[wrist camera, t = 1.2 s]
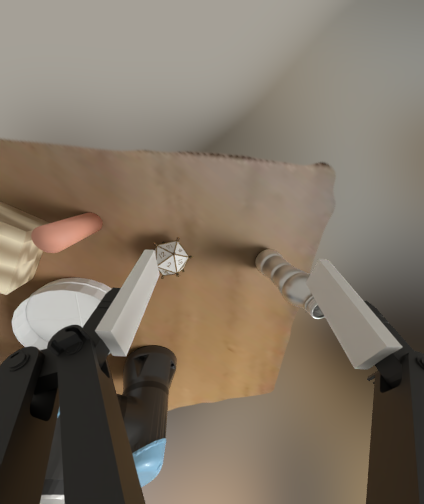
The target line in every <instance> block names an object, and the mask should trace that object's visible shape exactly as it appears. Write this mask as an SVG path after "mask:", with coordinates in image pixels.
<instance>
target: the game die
mask: <svg viewBox="0 0 424 504" xmlns="http://www.w3.org/2000/svg"><path fill="white" fill-rule="evenodd" d="M178 240H179V237H178V238H177V240H176V241H172V242H168V243H165V242H163V243H162V244H159V245H157V244H156V243H154V245H155V246H156V248H155V255H156V260H157V265H158V270H159V271H160V273H161V274H162V275H163V276H162V277H161V278H162V279H163V278H164V276H166V275H173V274H177V276H178V277H179V274H178V273H179V272H180V271H181V270H182V271H183V272H184V269H183V268H184V266H185V264H186V262H187V261H188V259H189V258H193V257H192V256H188V254H187V253H186V252H185V250H184V249H183V247H182V246H181V245H180V243H179V242H178Z"/></svg>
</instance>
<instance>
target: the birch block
mask: <svg viewBox="0 0 424 504" xmlns="http://www.w3.org/2000/svg"><path fill="white" fill-rule="evenodd" d="M46 224H49V222H47V221H44V220H42V219H40V218H37V217H35V216H33V215H31V214H28V213H26V212H24V211H22V210H19V209H17V208H15V207H12V206H10V205H8V204H6V203H3V202H1V201H0V293H2V294H5V295H7V294H9V293H10V292H12V291H14V290H15V289H17V288H19V287H20V286H22V285H23V284H25V283H27V282H28V281H30V280H31V279H33V278H34V275H35V272H36V269H37V266H38V264H39V261H40V258H41V255H42V253H43V251H42V250H41V249H39V248H38V247H37V246H36V245H35V244H34V243H33V241H32V238H31V234H32V231H33V230H34V229H35V228H36V227H39V226H42V225H46Z"/></svg>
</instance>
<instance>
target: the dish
mask: <svg viewBox="0 0 424 504" xmlns="http://www.w3.org/2000/svg"><path fill="white" fill-rule="evenodd" d="M111 289H112V288H110V287H108V286H106V285H105V284H103V283H100V282H97V281H94V280H91V279H84V278H63V279H59V280H56V281H52V282H49V283H48V284H46V285H44V286H43V287H41V288H40V289H38V290H37V291H35V292H34V293H32V294H31V296H30V297H29V298H27V299H26V300H25V301H23V302H22V303H21V304H20V305H19V306H18V308H17V309H16V310H15V311H14V315H13V318H12V328H13V332H14V334H15V336H16V337H17V339H18V341H19V342H20V343H21V344H22V345H23V346H24V347H29V346H33V347H37V348H38V349H39V350H43V349H47V346H48V342H49V341H50V339H51V338H52V336H53V335H54V334H56V333H57V332H58V331H59V330H61V329H63V328H64V327H67V326H70V325H79V326H81V327H82V328H83V326H84V325H85V323H86V322H87V320H88V319H89V317H90V316H91V314H92V313H93V312H94V310H95V309H96V308H97V306H98V304H99V303H100V302H101V300H102V299H103V297H104V296H105V294H106V293H107V292H109V291H110V290H111ZM110 353H111V352H109V354H110ZM109 354H108V355H109Z"/></svg>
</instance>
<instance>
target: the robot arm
mask: <svg viewBox="0 0 424 504" xmlns="http://www.w3.org/2000/svg"><path fill="white" fill-rule="evenodd" d="M158 277H159V270H158V265H157V260H156V255H155V250H144V252H143V253H142V255H141V257H140V258H139V260H138V261H137V263H136V265H135V266H134V268H133V270H132V271H131V273H130V274H129V276H128V278H127V279H126V281H125V283H124V284H123V286H122V287H121V288H112V289H111V290H110V291H109V292H107V293H106V294H105V296H104V297H103V299H102V300H101V302H100V303H99V304H98V306H97V308H96V309H95V310H94V312H93V313H92V314H91V316H90V317H89V319H88V320H87V322H86V323H85V325H84V326H83V328H82V327H81V326H79V325H70V326H67V327H64V328H63V329H61V330H59V331H58V332H57V333H56V334H54V335H53V336H52V338H51V339H50V341H49V342H48V346H47V349H43V350H39V349H38V348H37V347H33V346H29V347H24V348H22V349H20V350H18V351H16V352H14V353H13V354H12V355H10V356H9V357H8V358H7V359H6V360H5V361H4V362H3V363H2V364H1V366H0V504H145V500H144V497H143V493H142V489H141V487H143V486H144V485H146V484H148V483H149V482H150V481H152V480H153V479H154V478H155V477H156V476H157V475H158V473H159V472H160V470H161V467H162V464H163V459H164V451H165V444H166V425H167V424H166V423H167V410H168V394H169V388H170V385H171V383H172V380H173V377H174V374H175V371H176V357H175V355H174V353H173V352H172V351H170V350H169V349H167V348H164V347H161V346H146V347H142V348H139V349H137V350H135V351H134V352H132V353H131V354H130V355H129V356H128V357H127V359H126V362H125V365H124V369H123V394H122V395H120V394H116V391H115V387H114V383H113V379H112V375H111V372H110V368H109V364H108V360H107V359H106V358H107V356H108V354H109V352H111V354H112V355H113V356H127V353H128V351H129V349H130V346H131V344H132V341H133V339H134V336H135V334H136V331H137V329H138V326H139V324H140V321H141V319H142V317H143V314H144V312H145V309H146V307H147V304H148V302H149V299H150V297H151V294H152V292H153V290H154V287H155V285H156V282H157V280H158ZM306 285H307V286H308V288H309V290H310V292H311V293H312V295H313V297H314V299H315V300H316V302H317V304H318V306H319V307H320V309H321V311H322V313H323V314H324V316H325V318H326V320H327V321H328V323H329V325H330V326H331V328H332V330H333V332H334V334H335V335H336V337H337V339H338V341H339V342H340V344H341V346H342V348H343V349H344V351H345V353H346V354H347V356H348V358H349V360H350V361H351V363H352V365H353V366H354V368H355V369H369V368H371V367H372V366H374V365H375V366H376V367H377V369H378V371H377V372H375V373H373V374H372V375H370V376H368V378H367V380H369V381H370V380H372V379H374V378H375V382H373V384H375V385H374V400H373V413H372V427H371V442H370V455H369V471H368V484H367V498H366V504H424V354H422V353H420V352H416V351H414V350H413V349H412V348H411V347H410V346H409V345H408V344H407V343H406V342H405V340H404V339H403V338H402V337H401V336H400V335H399V334H398V332H397V331H396V330H395V329H394V328H393V327H392V326H391V325H390V324H389V323H388V321H387V320H386V319H385V318H384V317H383V315H382V314H381V313H380V312H379V311H378V310H377V309H376V308H375V307H374V306H372V305H371V304H370V303H369V302H367V301H363V300H362V299H361V297H359V295H358V294H357V293H356V292H355V290H354V289H353V288H352V287H351V286H350V284H348V282H347V281H346V280H345V279H344V278H343V276H342V275H341V274H340V273H339V272H338V270H337V269H336V268H335V267H334V266H333V265H332V263H331V262H330V261H329V260H328V259H318V261H317V263H316V265H315V267H314V268H313V270H312V272H311V274H310V276H309V278H308V279H307V281H306Z"/></svg>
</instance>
